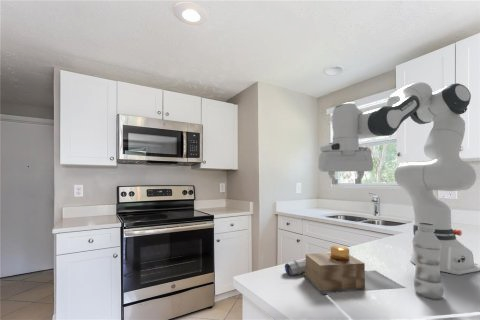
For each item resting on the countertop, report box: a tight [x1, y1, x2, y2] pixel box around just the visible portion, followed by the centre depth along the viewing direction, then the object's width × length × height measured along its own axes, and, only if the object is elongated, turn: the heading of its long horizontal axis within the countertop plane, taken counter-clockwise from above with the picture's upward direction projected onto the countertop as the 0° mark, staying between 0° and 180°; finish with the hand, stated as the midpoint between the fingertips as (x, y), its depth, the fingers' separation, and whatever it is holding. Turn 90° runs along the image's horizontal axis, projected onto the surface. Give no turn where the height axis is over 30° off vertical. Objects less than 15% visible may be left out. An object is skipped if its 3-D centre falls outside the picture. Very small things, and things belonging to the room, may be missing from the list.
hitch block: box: [303, 252, 406, 296], centre depth 77 cm, size 26×13×8 cm, turn 99°
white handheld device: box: [284, 258, 306, 277], centre depth 86 cm, size 5×7×25 cm
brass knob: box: [330, 245, 350, 261], centre depth 77 cm, size 5×5×10 cm
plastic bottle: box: [411, 223, 444, 301], centre depth 69 cm, size 6×7×20 cm
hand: (346, 184), depth 91 cm, fingers open, 8 cm apart
